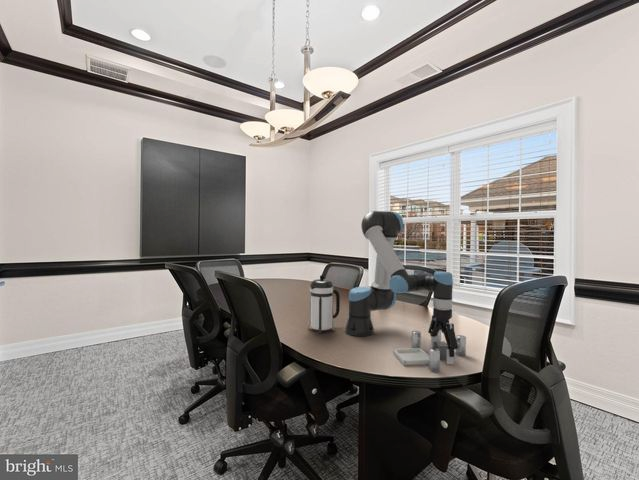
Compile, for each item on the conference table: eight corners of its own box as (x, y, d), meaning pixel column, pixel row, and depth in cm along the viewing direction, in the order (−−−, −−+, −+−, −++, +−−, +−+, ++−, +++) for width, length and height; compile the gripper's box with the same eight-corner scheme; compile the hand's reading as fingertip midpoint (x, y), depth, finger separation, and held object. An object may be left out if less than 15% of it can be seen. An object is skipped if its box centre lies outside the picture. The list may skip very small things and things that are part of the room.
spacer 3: (434, 348, 143) (434, 331, 142) (430, 345, 147) (430, 328, 146) (442, 347, 143) (443, 330, 143) (438, 344, 147) (438, 328, 147)
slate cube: (438, 360, 130) (439, 346, 129) (433, 355, 135) (433, 342, 134) (450, 359, 130) (450, 345, 130) (443, 355, 135) (444, 341, 135)
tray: (404, 365, 124) (404, 361, 124) (393, 353, 136) (393, 348, 136) (433, 364, 125) (433, 359, 125) (420, 352, 138) (420, 347, 138)
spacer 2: (431, 372, 118) (432, 352, 118) (426, 368, 122) (427, 348, 122) (441, 372, 119) (442, 351, 118) (436, 367, 123) (436, 347, 122)
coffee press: (334, 335, 159) (335, 277, 158) (304, 333, 162) (305, 276, 161) (339, 325, 176) (340, 273, 174) (312, 323, 179) (312, 272, 178)
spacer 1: (413, 350, 139) (413, 333, 139) (410, 347, 143) (410, 330, 143) (422, 350, 140) (422, 333, 139) (418, 347, 144) (418, 330, 143)
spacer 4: (458, 356, 133) (459, 338, 133) (453, 352, 137) (454, 335, 137) (467, 356, 134) (468, 338, 134) (462, 352, 138) (462, 334, 138)
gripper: (468, 315, 120) (467, 369, 120) (436, 301, 144) (435, 345, 145) (450, 316, 119) (448, 370, 120) (421, 301, 144) (420, 346, 144)
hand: (441, 357), depth 132 cm, fingers open, 13 cm apart
